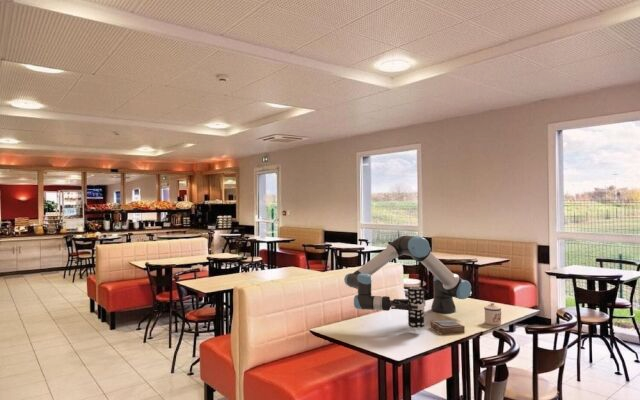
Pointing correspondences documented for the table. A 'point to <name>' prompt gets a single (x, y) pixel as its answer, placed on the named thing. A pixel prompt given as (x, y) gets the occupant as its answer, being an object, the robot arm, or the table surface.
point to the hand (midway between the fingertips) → (424, 305)
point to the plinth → (447, 327)
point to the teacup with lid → (492, 314)
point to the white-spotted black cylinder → (416, 315)
